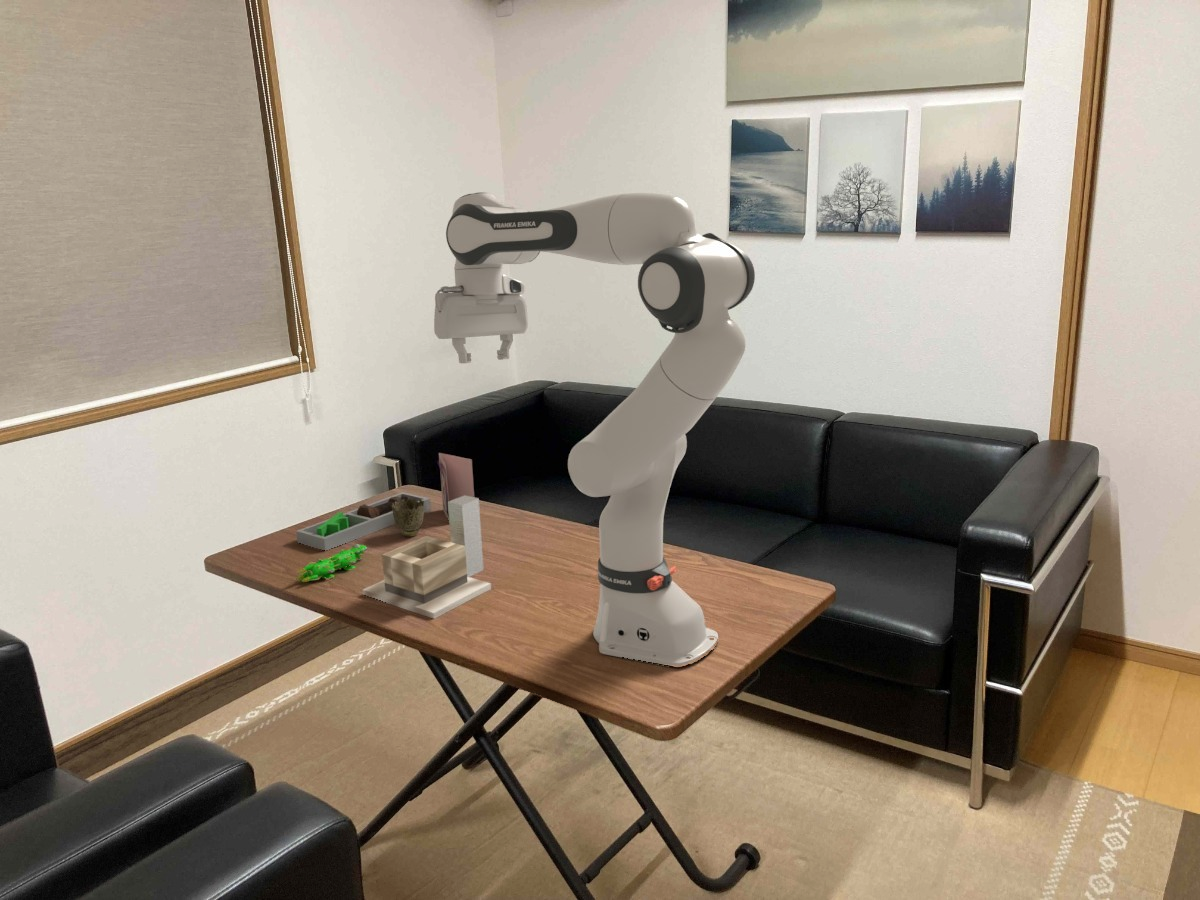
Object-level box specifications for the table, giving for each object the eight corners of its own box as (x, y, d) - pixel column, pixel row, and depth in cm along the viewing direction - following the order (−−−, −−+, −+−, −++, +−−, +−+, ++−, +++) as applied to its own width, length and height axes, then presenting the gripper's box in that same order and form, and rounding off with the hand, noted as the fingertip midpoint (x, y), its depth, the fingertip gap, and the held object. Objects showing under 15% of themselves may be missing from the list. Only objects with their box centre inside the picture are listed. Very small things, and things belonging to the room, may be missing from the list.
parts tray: (430, 509, 237) (430, 498, 236) (325, 551, 211) (324, 539, 211) (403, 503, 243) (402, 492, 242) (297, 543, 217) (296, 530, 216)
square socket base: (491, 588, 189) (488, 547, 186) (434, 618, 176) (430, 574, 174) (421, 568, 200) (417, 528, 198) (363, 595, 188) (358, 553, 185)
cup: (433, 532, 221) (430, 500, 219) (411, 542, 215) (408, 510, 213) (409, 527, 225) (407, 496, 223) (387, 537, 219) (384, 505, 217)
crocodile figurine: (376, 561, 205) (375, 543, 204) (309, 590, 191) (307, 571, 190) (356, 555, 209) (354, 537, 208) (289, 583, 195) (286, 564, 194)
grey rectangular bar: (483, 569, 198) (478, 498, 194) (467, 578, 195) (461, 505, 190) (469, 566, 201) (464, 495, 196) (453, 574, 197) (447, 501, 192)
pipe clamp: (333, 548, 214) (331, 529, 213) (318, 547, 215) (316, 528, 213) (355, 530, 225) (353, 512, 223) (340, 529, 225) (338, 511, 224)
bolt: (412, 516, 239) (366, 532, 227) (399, 504, 240) (353, 519, 228) (419, 499, 236) (373, 514, 224) (406, 487, 238) (360, 501, 226)
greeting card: (439, 510, 237) (435, 453, 233) (468, 506, 239) (464, 449, 235) (446, 524, 226) (442, 465, 222) (477, 520, 228) (473, 461, 224)
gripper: (446, 285, 162) (452, 365, 164) (531, 284, 177) (535, 357, 179) (423, 287, 166) (429, 365, 168) (508, 285, 181) (512, 357, 183)
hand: (484, 361), depth 174 cm, fingers open, 8 cm apart
